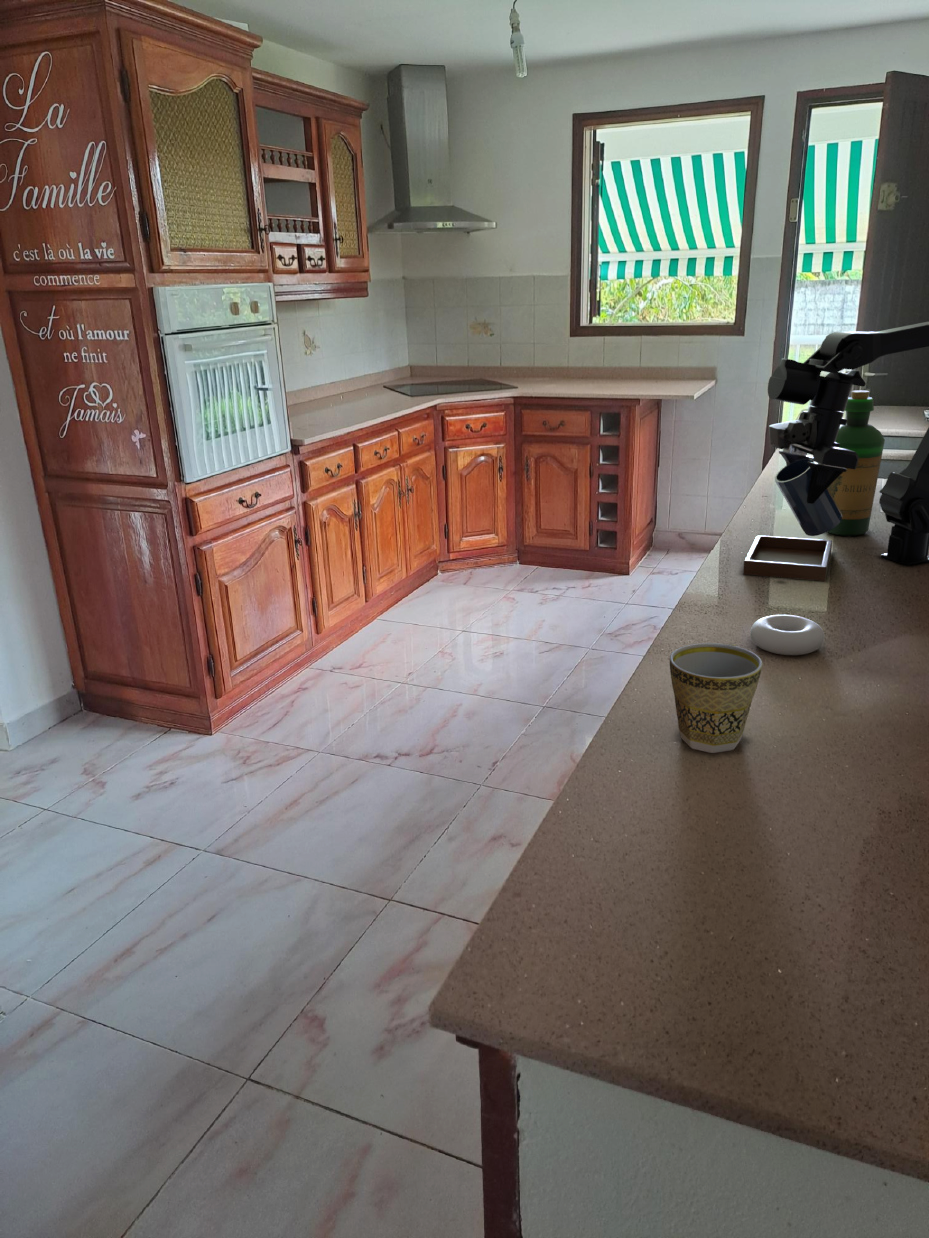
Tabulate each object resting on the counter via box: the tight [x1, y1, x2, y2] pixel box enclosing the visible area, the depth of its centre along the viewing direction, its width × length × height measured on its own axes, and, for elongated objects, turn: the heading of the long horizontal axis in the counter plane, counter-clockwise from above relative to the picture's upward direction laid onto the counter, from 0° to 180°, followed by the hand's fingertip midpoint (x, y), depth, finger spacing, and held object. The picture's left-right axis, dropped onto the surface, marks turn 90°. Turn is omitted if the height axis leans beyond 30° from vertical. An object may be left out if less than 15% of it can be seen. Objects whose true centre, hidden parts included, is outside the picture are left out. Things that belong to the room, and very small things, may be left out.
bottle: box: [827, 389, 886, 537], centre depth 175 cm, size 11×11×28 cm
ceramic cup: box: [668, 642, 763, 754], centre depth 101 cm, size 13×10×10 cm
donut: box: [749, 614, 825, 656], centre depth 126 cm, size 10×4×10 cm
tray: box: [742, 534, 833, 582], centre depth 161 cm, size 18×14×3 cm
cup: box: [774, 458, 842, 537], centre depth 154 cm, size 7×7×12 cm
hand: (800, 498), depth 154 cm, fingers closed on cup, 7 cm apart
